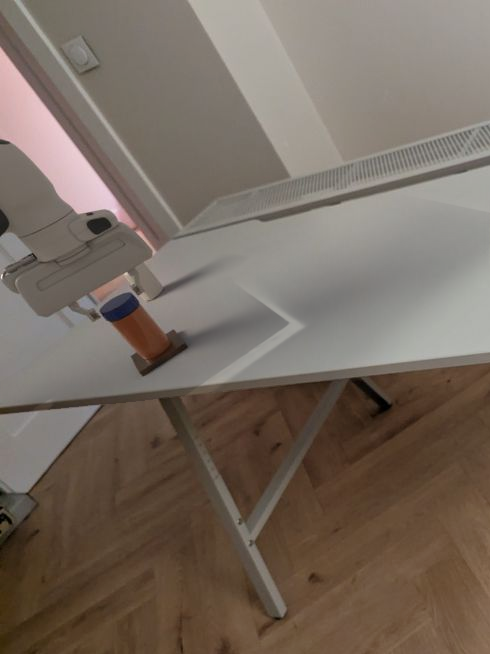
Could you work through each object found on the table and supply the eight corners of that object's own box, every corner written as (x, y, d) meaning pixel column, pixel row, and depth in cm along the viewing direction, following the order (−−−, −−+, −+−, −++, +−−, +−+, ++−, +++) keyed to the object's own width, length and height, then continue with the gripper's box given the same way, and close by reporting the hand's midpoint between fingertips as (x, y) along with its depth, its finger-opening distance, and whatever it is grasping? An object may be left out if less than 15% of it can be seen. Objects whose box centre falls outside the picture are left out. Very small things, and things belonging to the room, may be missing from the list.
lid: (109, 325, 93) (101, 316, 92) (104, 316, 97) (96, 307, 96) (142, 306, 95) (134, 297, 94) (136, 297, 99) (128, 288, 98)
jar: (145, 363, 98) (104, 318, 92) (139, 353, 103) (99, 309, 96) (174, 345, 101) (136, 299, 94) (167, 335, 105) (130, 291, 98)
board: (142, 376, 97) (139, 372, 97) (133, 359, 104) (130, 356, 103) (187, 347, 100) (184, 343, 100) (176, 332, 107) (173, 329, 106)
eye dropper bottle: (140, 300, 127) (104, 258, 120) (160, 286, 130) (126, 244, 123) (148, 302, 124) (112, 259, 117) (169, 288, 127) (134, 244, 120)
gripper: (-7, 277, 81) (62, 346, 89) (121, 209, 88) (175, 278, 97) (-7, 269, 86) (59, 334, 94) (116, 205, 93) (167, 271, 101)
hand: (119, 305), depth 95 cm, fingers open, 7 cm apart
